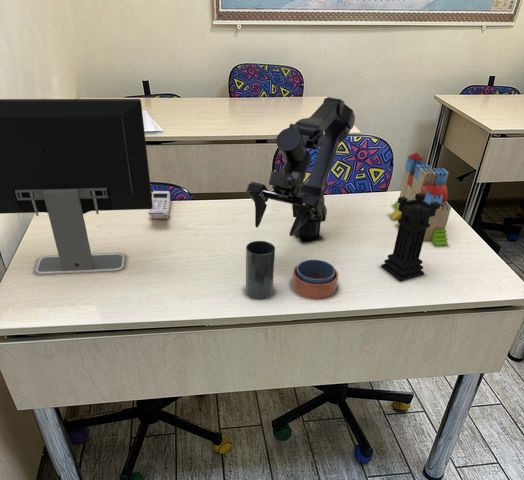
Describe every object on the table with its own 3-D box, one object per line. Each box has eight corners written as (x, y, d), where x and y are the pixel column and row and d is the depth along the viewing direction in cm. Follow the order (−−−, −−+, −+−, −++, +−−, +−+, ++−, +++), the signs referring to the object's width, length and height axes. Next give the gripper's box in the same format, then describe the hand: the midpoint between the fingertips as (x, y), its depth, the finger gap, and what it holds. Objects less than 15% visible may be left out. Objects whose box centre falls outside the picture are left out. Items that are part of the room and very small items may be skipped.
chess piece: (399, 281, 134) (417, 210, 121) (381, 267, 139) (396, 197, 126) (423, 274, 137) (442, 204, 124) (404, 261, 142) (420, 191, 129)
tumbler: (265, 281, 131) (267, 238, 123) (277, 295, 127) (280, 251, 119) (241, 287, 129) (241, 243, 121) (252, 301, 124) (253, 257, 116)
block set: (457, 245, 150) (477, 181, 137) (412, 247, 148) (428, 182, 136) (422, 204, 171) (437, 146, 159) (382, 205, 169) (394, 146, 157)
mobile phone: (145, 212, 146) (151, 178, 165) (147, 231, 150) (153, 195, 169) (167, 212, 147) (170, 178, 166) (168, 231, 151) (171, 195, 170)
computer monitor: (158, 253, 141) (141, 96, 115) (158, 268, 134) (139, 106, 109) (2, 259, 135) (-53, 96, 110) (-6, 276, 129) (-66, 107, 103)
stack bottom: (321, 271, 136) (323, 257, 134) (344, 292, 129) (346, 279, 126) (284, 280, 132) (285, 266, 130) (305, 302, 125) (307, 289, 122)
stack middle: (320, 273, 135) (322, 256, 132) (340, 291, 129) (342, 274, 126) (288, 280, 132) (289, 264, 129) (307, 300, 125) (309, 283, 122)
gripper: (250, 148, 120) (228, 209, 119) (324, 163, 114) (301, 227, 114) (263, 170, 131) (243, 227, 130) (331, 185, 125) (311, 244, 124)
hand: (273, 231), depth 124 cm, fingers open, 9 cm apart
